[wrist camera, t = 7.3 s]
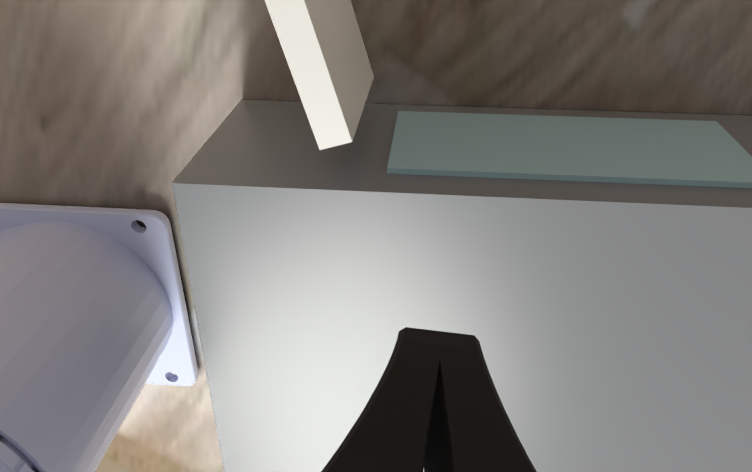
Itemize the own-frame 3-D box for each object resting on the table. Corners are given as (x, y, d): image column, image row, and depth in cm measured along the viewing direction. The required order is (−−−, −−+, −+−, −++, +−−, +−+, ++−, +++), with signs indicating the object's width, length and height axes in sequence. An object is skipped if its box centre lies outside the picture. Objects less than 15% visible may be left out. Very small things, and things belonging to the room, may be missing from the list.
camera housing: (273, 382, 26) (231, 510, 21) (241, 94, 20) (170, 177, 15) (779, 417, 25) (865, 564, 20) (913, 115, 19) (1091, 215, 13)
